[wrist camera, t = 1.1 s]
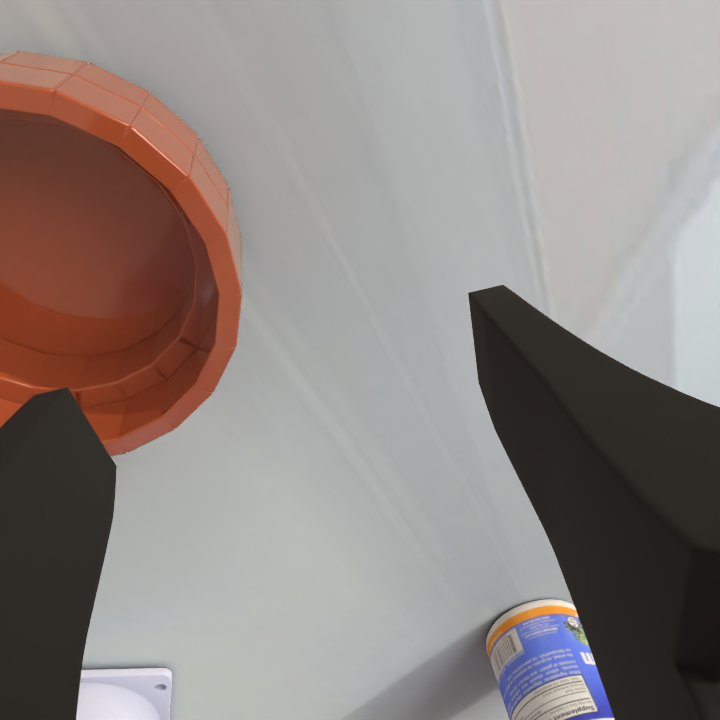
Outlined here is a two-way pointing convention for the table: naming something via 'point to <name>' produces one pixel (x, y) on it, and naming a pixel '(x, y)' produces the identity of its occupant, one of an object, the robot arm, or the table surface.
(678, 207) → the table surface
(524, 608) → the pill bottle
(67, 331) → the bowl
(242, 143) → the table surface
